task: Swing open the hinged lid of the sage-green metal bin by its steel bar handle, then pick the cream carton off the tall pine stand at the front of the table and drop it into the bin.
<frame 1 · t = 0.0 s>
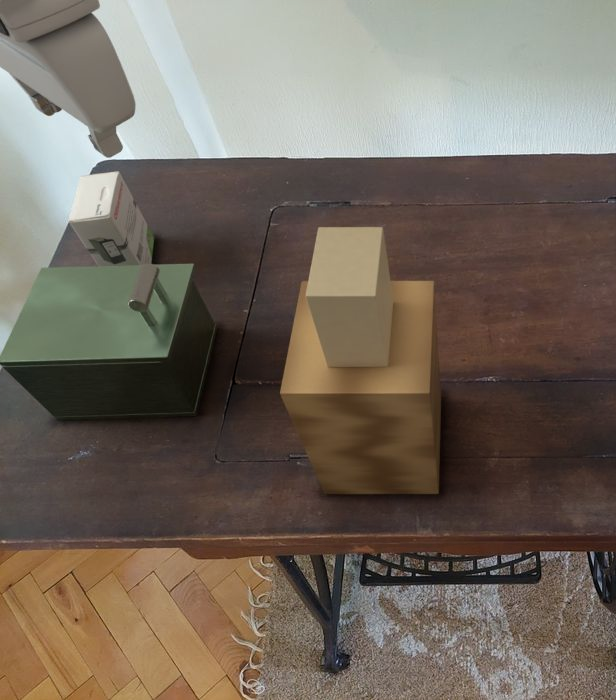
hand: (80, 130, 58), 29 cm above the table, tool pointing down, fingers open, 8 cm apart
ink box: (135, 263, 88), on the table
lid: (93, 299, 66), point 13 cm above the table, hinge at 0.0°
bin: (141, 372, 77), on the table
carton: (361, 333, 55), point 20 cm above the table, touching stand
stand: (385, 443, 72), on the table
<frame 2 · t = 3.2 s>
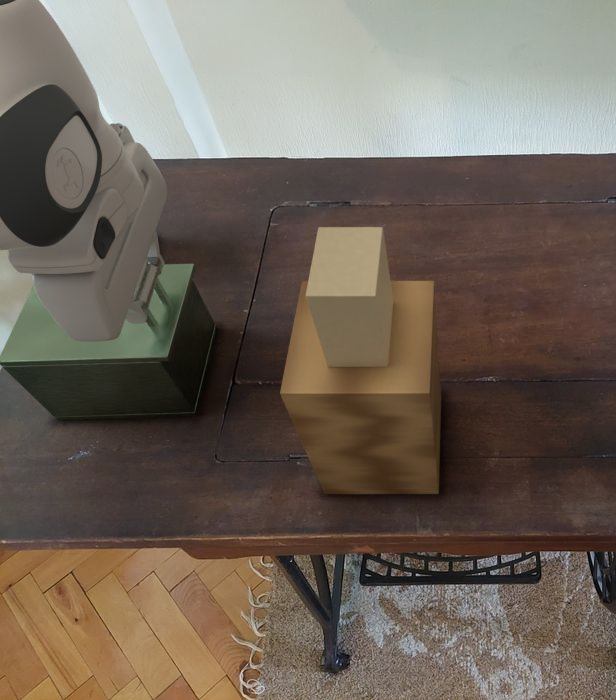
hand: (148, 293, 66), 14 cm above the table, tool pointing down, fingers closed on lid, 5 cm apart
lid: (93, 299, 66), point 13 cm above the table, hinge at 0.0°, touching gripper
everything else where it was.
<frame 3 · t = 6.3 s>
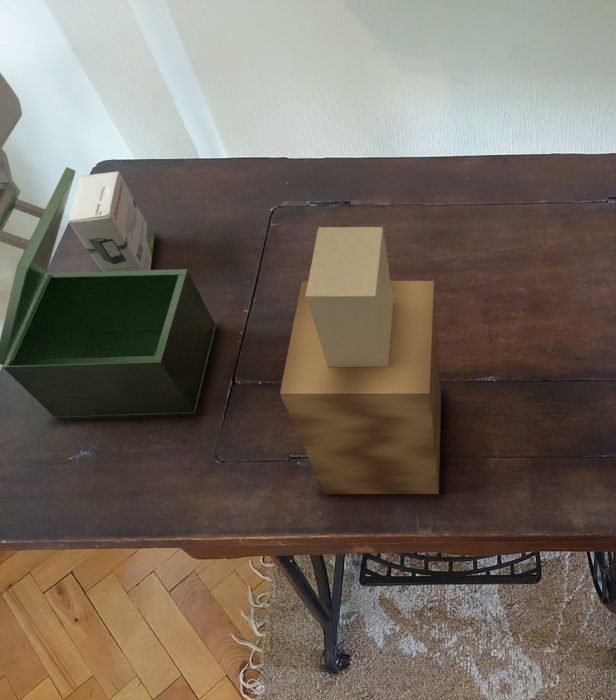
lid: (8, 260, 61), point 19 cm above the table, hinge at 54.4°, touching gripper
everything else where it was.
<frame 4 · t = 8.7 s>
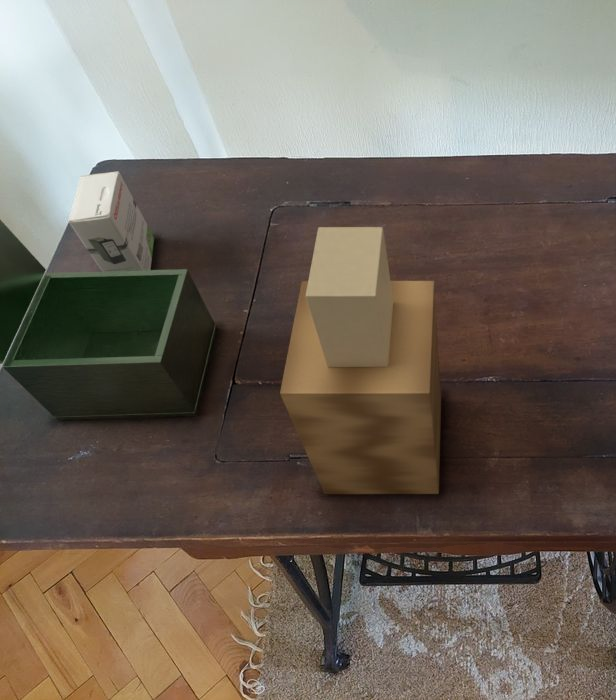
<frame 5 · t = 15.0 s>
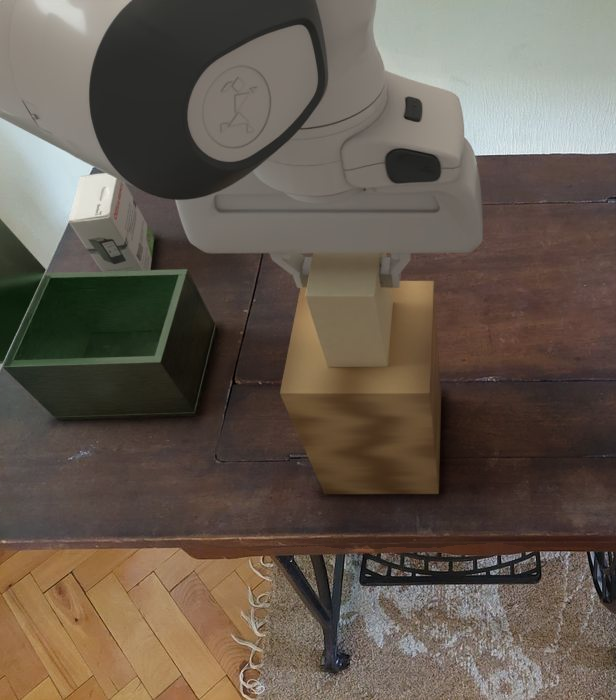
hand: (350, 281, 50), 27 cm above the table, tool pointing down, fingers closed on carton, 5 cm apart
carton: (361, 333, 55), point 20 cm above the table, touching gripper, stand
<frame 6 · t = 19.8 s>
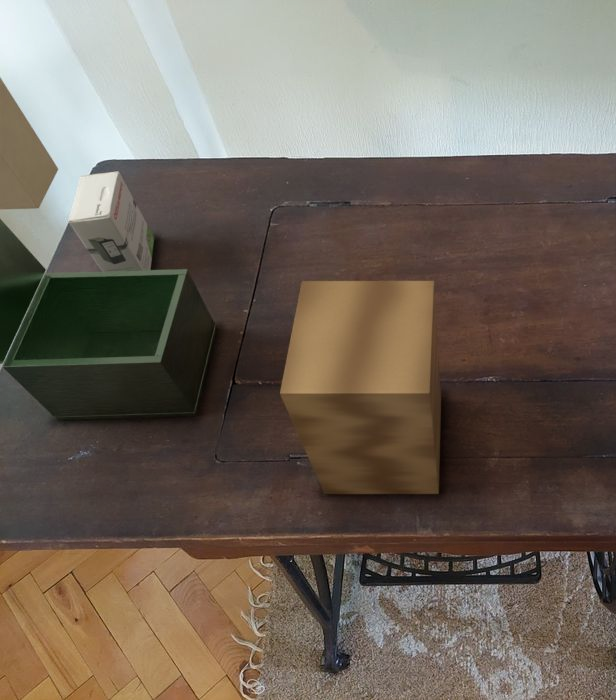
carton: (7, 189, 55), point 28 cm above the table, touching gripper
when the fingers open (10 cm above the table, at t = 24.9 s): carton drops 2 cm, resting on bin.
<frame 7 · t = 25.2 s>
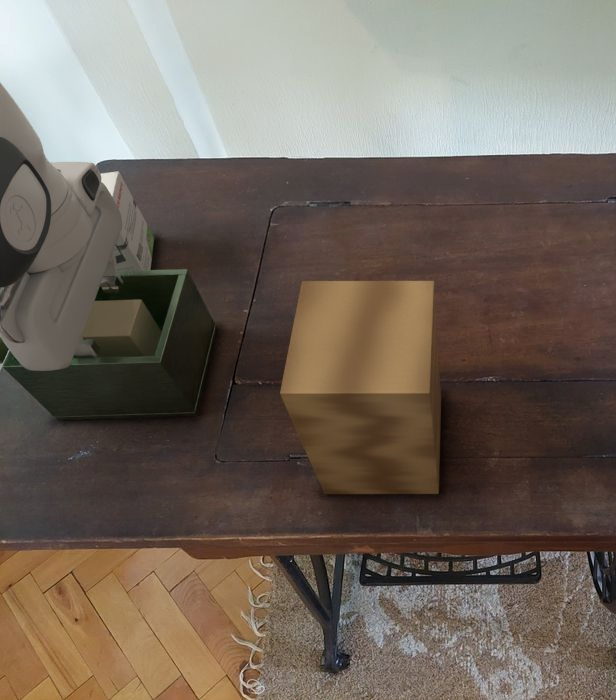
hand: (103, 320, 69), 10 cm above the table, tool pointing down, fingers open, 8 cm apart
carton: (137, 365, 77), point 1 cm above the table, touching bin
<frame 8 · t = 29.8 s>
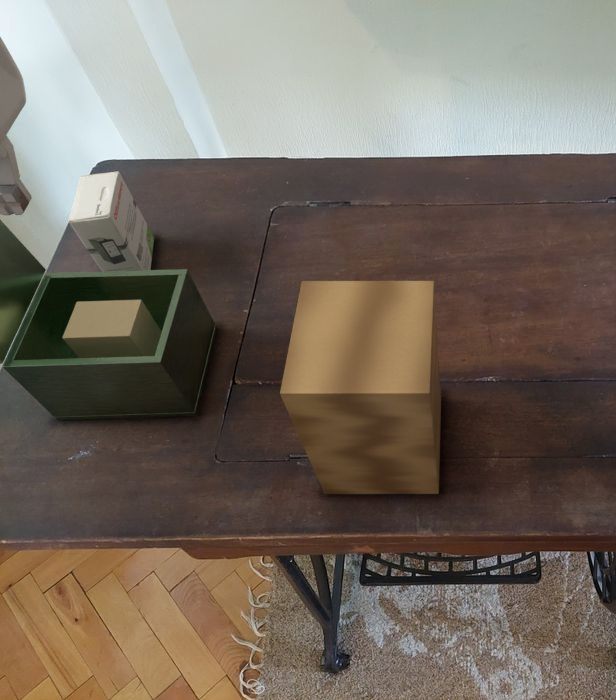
at the end: lid at +95° (first picture: +0°); carton inside the target area in the bin (0.5 cm from its centre), point 0.8 cm above the bin's base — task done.
